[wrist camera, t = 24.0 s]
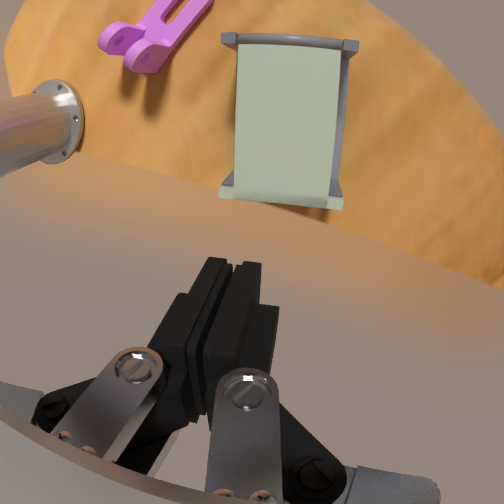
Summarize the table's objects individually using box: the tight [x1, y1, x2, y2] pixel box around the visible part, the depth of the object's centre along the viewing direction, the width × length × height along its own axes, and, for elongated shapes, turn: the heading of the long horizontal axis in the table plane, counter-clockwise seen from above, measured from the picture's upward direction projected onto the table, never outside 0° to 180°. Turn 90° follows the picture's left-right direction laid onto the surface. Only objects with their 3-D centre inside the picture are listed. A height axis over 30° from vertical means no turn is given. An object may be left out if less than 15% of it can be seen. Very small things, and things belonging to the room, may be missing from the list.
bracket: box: [98, 0, 213, 73], centre depth 25 cm, size 13×6×7 cm, turn 140°
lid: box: [219, 33, 344, 211], centre depth 25 cm, size 11×15×1 cm
